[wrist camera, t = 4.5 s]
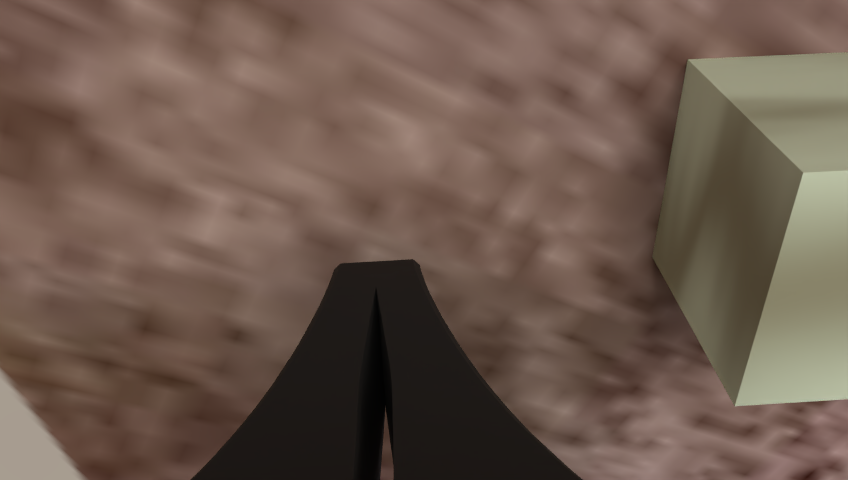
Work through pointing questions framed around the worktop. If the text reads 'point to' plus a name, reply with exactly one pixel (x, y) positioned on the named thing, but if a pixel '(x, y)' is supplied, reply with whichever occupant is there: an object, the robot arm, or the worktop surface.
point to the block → (762, 223)
